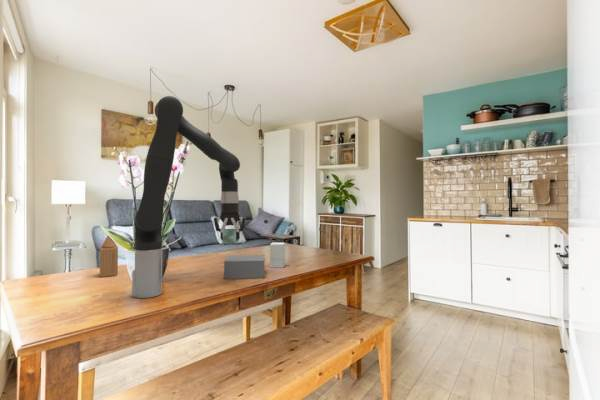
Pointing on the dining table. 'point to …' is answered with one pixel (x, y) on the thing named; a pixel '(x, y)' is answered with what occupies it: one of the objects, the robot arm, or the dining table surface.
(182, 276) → the dining table surface
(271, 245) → the supplement box
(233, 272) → the charcoal stand
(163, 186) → the robot arm
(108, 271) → the decorative item
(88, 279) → the dining table surface
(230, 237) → the teal block
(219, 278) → the dining table surface
